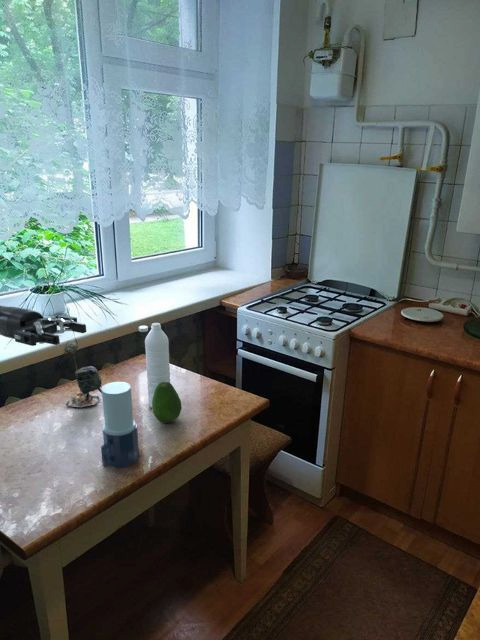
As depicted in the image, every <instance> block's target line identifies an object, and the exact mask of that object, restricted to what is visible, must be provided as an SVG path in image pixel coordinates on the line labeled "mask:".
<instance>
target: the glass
mask: <svg viewBox="0 0 480 640" xmlns="http://www.w3.org/2000/svg"><path fill="white" fill-rule="evenodd" d="M100 389H101V390H102V393H101V399H102V408H103V419H104V423H103V425H102V429H103V431H104V432H105V433H106V434H109V435H115V436H118V435H124V434H127V433H130V432H132V431H133V430H134V429H135V427H136V425H137V423H136V421H135V419H134V413H133V411H134V410H133V399H132V386H131V384H130V383H129V382H125V381H113V382H112V381H111V382H107V383H106V384H104V385H103V386H101V388H100Z"/></svg>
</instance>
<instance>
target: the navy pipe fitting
mask: <svg viewBox="0 0 480 640" xmlns="http://www.w3.org/2000/svg"><path fill="white" fill-rule="evenodd" d="M101 431H102V442H103V444H102V445H101V446H100V451H101V462H102V467H103V468H105V469H106V468H109V467H112V468H126V467H130V466H132V465H134V464H135V463H136V462H137V461H138V460H139V458H140V448H139V433H138V425H137V424H136V427H135V429H134V430H133V431H132V432H130V433H127V434H124V435H118V436H115V435H109V434H106V433H105V432H104V431H103V428H101Z"/></svg>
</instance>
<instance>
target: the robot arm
mask: <svg viewBox="0 0 480 640" xmlns="http://www.w3.org/2000/svg"><path fill="white" fill-rule="evenodd" d="M58 327H59V329H58ZM65 332H73V333H79V334H85V333H87V325H86V324H85V323H83V322H79V321H78V317H76V316H69V315H64V314H56V315H55V318H50V317H44V316H43V315H42V314H41V312H39V311H37V310H33V309H27V308H22V307H17V306H6V305H2V304H1V305H0V336H1V337H4V338H7V339H8V338H9V339H13V340H14V342H15V343H19V344H23V345H27V346H31V347H35V346H37V343H39V344H40V345H42V344H43V345H44V344H50V345H54V346H58V345H60V343H61V341H60V335H61V334H65ZM58 334H60V335H58Z"/></svg>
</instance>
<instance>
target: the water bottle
mask: <svg viewBox="0 0 480 640" xmlns="http://www.w3.org/2000/svg"><path fill="white" fill-rule="evenodd" d="M150 328H151V329H150V331H149V326H147V325H140V326H138V332H141V333H145V332H148V331H149V332H148V333H147V335H146V336H145V339H144V348H145V364H146V365H145V366H146V367H145V368H146V380H147V381H146V382H147V398H148V399H147V400H148V406H149V407H150V408H152V400H153V396H154V392H155V389H156V387H157V385H158V384H159V383H161V382H169V383H171V372H170V371H171V370H170V369H171V368H170V367H171V365H170V350H169V349H170V345H169V342H170V341H169V337H168V336H167V335H166V333H165V332H164V331H163V329H162V326H161V323H159V322H152V323H151V326H150Z"/></svg>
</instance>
